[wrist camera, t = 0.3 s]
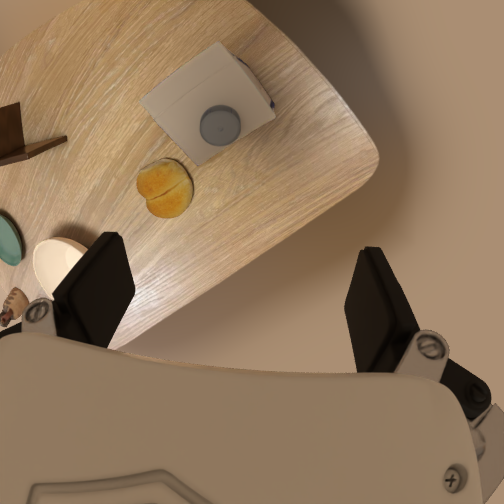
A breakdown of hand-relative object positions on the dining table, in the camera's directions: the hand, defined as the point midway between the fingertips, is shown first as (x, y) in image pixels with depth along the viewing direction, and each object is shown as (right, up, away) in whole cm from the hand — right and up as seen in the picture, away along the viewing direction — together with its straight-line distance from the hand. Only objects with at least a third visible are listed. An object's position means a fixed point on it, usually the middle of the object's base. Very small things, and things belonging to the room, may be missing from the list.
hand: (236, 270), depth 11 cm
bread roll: (-12, +11, +30) cm, 35 cm away
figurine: (-67, -12, +50) cm, 84 cm away
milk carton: (-1, +21, +23) cm, 31 cm away
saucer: (-58, +5, +38) cm, 70 cm away
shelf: (-36, +24, +24) cm, 50 cm away
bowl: (-33, -1, +40) cm, 52 cm away
